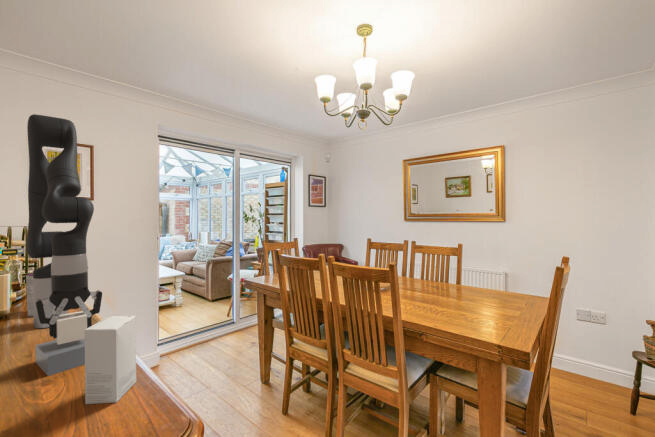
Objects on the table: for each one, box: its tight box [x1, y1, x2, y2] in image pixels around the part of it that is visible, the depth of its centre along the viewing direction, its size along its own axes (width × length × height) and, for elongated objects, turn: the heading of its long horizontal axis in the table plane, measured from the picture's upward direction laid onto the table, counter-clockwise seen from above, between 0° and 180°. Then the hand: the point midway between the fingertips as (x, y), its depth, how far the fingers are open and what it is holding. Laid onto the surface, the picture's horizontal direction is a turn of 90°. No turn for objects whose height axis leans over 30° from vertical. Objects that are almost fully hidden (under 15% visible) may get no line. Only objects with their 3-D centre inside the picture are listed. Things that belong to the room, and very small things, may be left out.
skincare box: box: [84, 315, 137, 405], centre depth 67 cm, size 8×7×16 cm
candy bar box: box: [25, 273, 34, 318], centre depth 125 cm, size 11×5×16 cm, turn 168°
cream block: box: [54, 310, 87, 345], centre depth 83 cm, size 6×6×6 cm
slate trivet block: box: [35, 339, 85, 377], centre depth 83 cm, size 12×12×5 cm
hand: (71, 333), depth 83 cm, fingers closed on cream block, 6 cm apart
